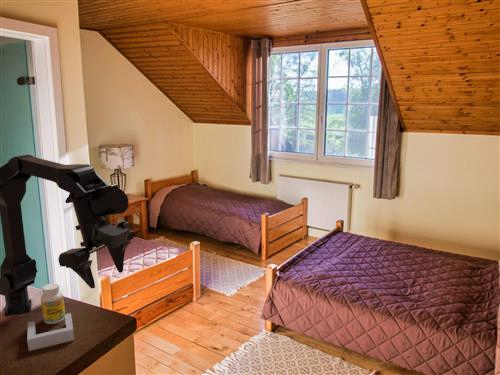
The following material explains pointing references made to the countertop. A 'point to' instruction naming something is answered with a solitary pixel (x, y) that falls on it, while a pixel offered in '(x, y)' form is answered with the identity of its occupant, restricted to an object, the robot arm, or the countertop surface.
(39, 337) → the notched board
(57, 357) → the countertop surface
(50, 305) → the supplement bottle
